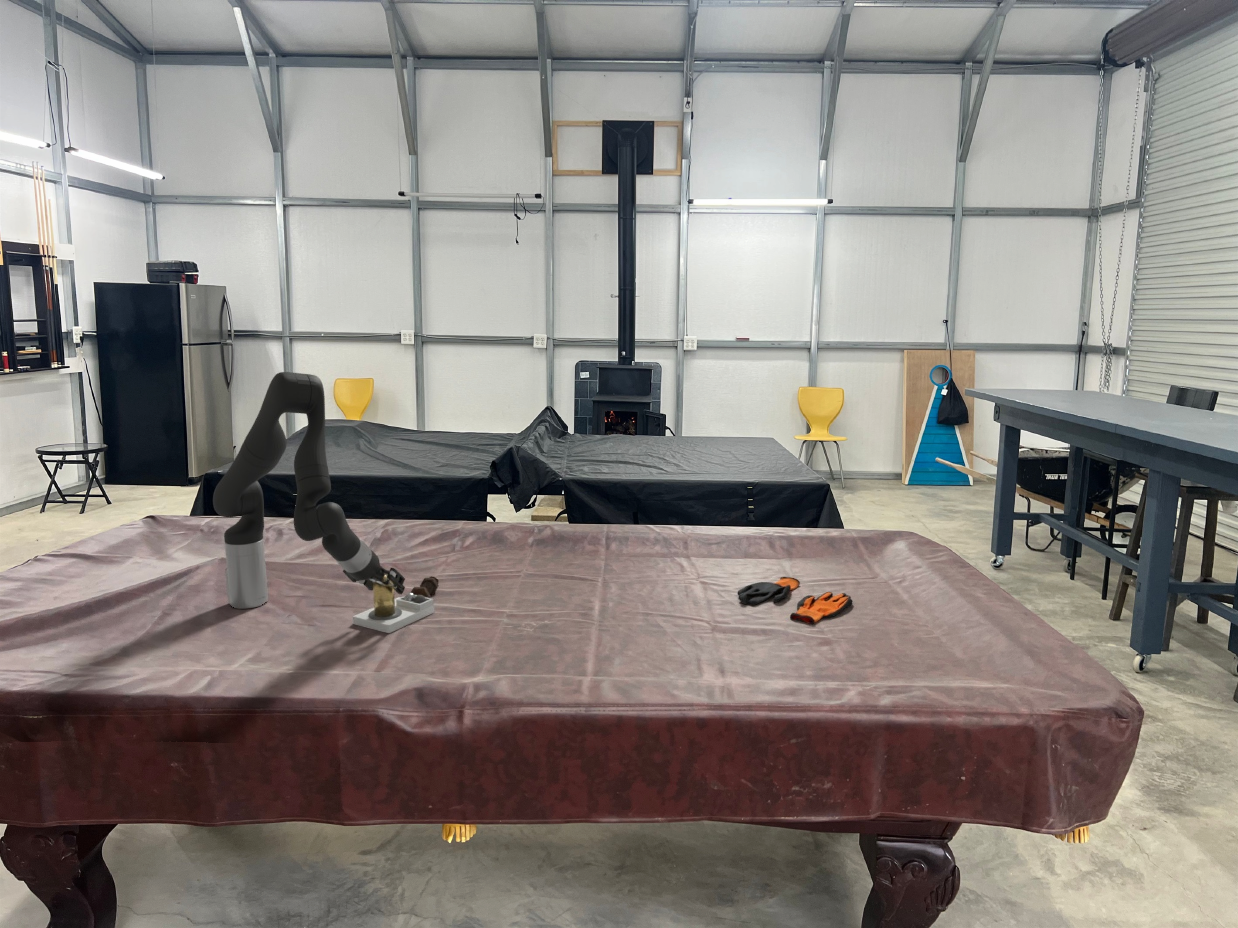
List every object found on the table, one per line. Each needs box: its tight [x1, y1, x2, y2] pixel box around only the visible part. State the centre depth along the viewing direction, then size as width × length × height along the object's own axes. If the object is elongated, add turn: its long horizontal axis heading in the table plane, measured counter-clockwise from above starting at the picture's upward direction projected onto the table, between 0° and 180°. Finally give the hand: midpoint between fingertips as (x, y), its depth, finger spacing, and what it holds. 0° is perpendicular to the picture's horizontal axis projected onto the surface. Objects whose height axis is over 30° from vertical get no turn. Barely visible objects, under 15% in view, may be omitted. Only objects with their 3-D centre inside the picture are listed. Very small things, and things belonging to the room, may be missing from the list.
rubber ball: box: [414, 595, 426, 604], centre depth 212 cm, size 3×3×3 cm
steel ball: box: [404, 592, 416, 602], centre depth 214 cm, size 3×3×3 cm
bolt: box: [410, 576, 439, 598], centre depth 225 cm, size 6×5×15 cm
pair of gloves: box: [737, 576, 853, 625], centre depth 223 cm, size 27×24×3 cm
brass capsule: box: [372, 575, 396, 617], centre depth 206 cm, size 5×5×10 cm
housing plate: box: [352, 595, 435, 634], centre depth 210 cm, size 12×16×4 cm
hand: (387, 588), depth 207 cm, fingers open, 8 cm apart
